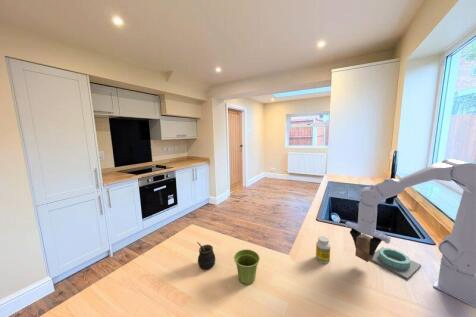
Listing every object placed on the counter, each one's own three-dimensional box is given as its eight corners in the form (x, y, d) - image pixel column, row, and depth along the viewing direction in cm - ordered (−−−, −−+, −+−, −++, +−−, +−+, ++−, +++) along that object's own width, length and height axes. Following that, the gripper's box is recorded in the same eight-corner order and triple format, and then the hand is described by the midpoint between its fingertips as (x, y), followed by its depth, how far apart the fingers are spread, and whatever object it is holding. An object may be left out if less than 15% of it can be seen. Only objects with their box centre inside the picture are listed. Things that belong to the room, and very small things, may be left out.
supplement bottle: (324, 254, 80) (325, 234, 78) (332, 263, 74) (333, 241, 73) (313, 256, 79) (314, 235, 78) (320, 264, 74) (321, 243, 72)
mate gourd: (212, 274, 70) (211, 250, 69) (194, 271, 72) (192, 248, 70) (218, 261, 77) (216, 239, 76) (201, 259, 79) (200, 238, 77)
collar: (421, 266, 71) (422, 258, 71) (407, 280, 65) (408, 271, 65) (382, 248, 83) (383, 242, 82) (367, 258, 76) (368, 251, 76)
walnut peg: (373, 258, 71) (374, 239, 70) (367, 262, 68) (369, 242, 67) (361, 251, 74) (362, 233, 73) (355, 255, 72) (356, 236, 71)
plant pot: (252, 266, 74) (252, 246, 72) (264, 284, 65) (264, 262, 64) (231, 273, 70) (230, 252, 69) (240, 292, 62) (239, 269, 60)
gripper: (394, 223, 65) (391, 257, 67) (352, 209, 77) (350, 239, 79) (387, 228, 62) (384, 265, 63) (343, 213, 74) (341, 244, 75)
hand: (364, 251), depth 71 cm, fingers closed on walnut peg, 4 cm apart
